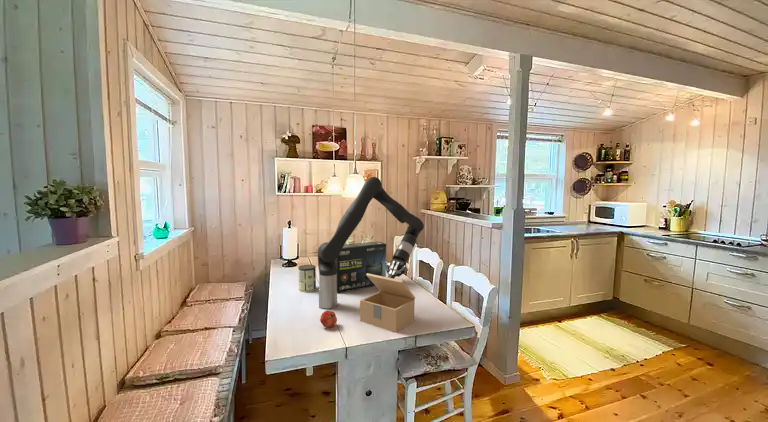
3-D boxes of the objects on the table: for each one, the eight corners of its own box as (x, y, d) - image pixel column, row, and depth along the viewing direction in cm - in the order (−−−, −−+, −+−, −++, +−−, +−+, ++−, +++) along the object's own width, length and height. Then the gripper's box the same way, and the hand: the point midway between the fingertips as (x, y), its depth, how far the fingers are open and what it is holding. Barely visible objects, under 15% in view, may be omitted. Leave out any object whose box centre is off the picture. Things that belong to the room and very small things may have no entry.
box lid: (380, 291, 165) (381, 289, 166) (414, 299, 154) (415, 297, 154) (365, 274, 155) (366, 272, 155) (401, 282, 143) (402, 280, 144)
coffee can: (307, 285, 205) (307, 263, 204) (319, 288, 200) (319, 266, 199) (295, 290, 197) (294, 267, 196) (307, 293, 191) (306, 269, 190)
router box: (336, 294, 190) (336, 248, 188) (328, 288, 200) (328, 245, 197) (387, 283, 210) (387, 242, 208) (378, 279, 219) (378, 240, 217)
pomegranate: (317, 331, 147) (325, 324, 140) (315, 315, 151) (323, 308, 144) (333, 329, 151) (341, 322, 144) (330, 314, 154) (338, 306, 148)
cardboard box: (380, 310, 166) (380, 291, 165) (414, 320, 154) (414, 299, 154) (359, 321, 153) (359, 300, 152) (395, 332, 141) (395, 310, 140)
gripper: (389, 246, 164) (374, 275, 154) (412, 249, 156) (397, 280, 147) (394, 255, 168) (380, 284, 159) (417, 259, 161) (403, 289, 151)
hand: (388, 282), depth 153 cm, fingers closed
